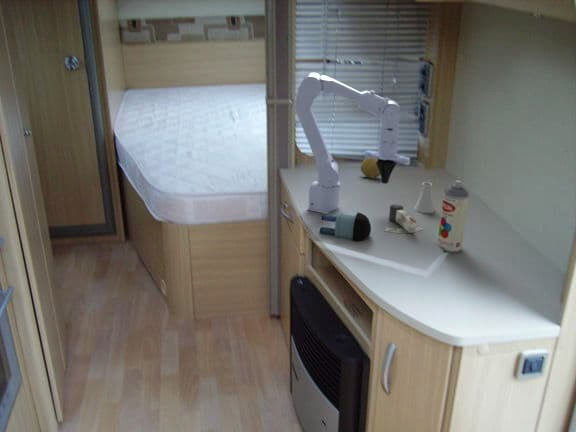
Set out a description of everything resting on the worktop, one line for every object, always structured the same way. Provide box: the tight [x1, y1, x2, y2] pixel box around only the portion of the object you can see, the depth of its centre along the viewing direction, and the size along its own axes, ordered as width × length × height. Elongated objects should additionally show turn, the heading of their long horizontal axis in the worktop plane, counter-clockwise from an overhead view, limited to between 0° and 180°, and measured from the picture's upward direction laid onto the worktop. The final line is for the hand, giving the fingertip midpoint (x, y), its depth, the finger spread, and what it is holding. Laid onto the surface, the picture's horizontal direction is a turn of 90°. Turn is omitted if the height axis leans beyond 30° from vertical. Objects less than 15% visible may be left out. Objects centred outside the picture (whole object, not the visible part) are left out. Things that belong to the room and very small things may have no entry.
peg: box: [388, 204, 417, 234], centre depth 179 cm, size 14×4×5 cm, turn 16°
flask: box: [413, 181, 435, 214], centre depth 192 cm, size 7×7×10 cm
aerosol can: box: [437, 179, 470, 255], centre depth 165 cm, size 7×7×20 cm
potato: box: [360, 157, 381, 179], centre depth 225 cm, size 7×8×8 cm
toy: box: [319, 212, 372, 242], centre depth 172 cm, size 8×9×15 cm
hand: (385, 182), depth 189 cm, fingers closed
